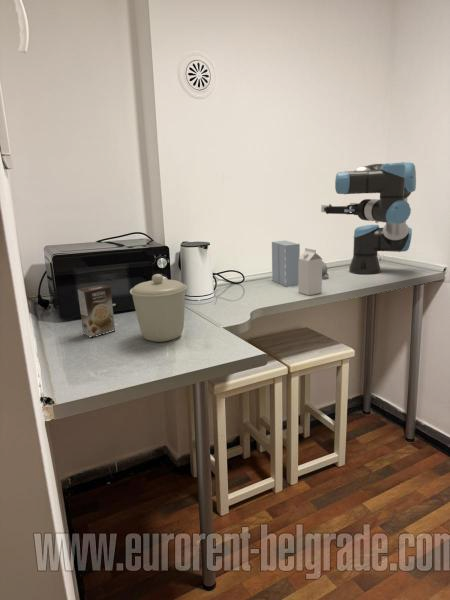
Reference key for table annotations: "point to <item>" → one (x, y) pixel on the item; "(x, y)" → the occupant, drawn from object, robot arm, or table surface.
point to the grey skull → (324, 271)
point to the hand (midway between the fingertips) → (336, 207)
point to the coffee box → (96, 310)
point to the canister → (160, 308)
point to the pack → (285, 263)
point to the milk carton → (310, 272)
